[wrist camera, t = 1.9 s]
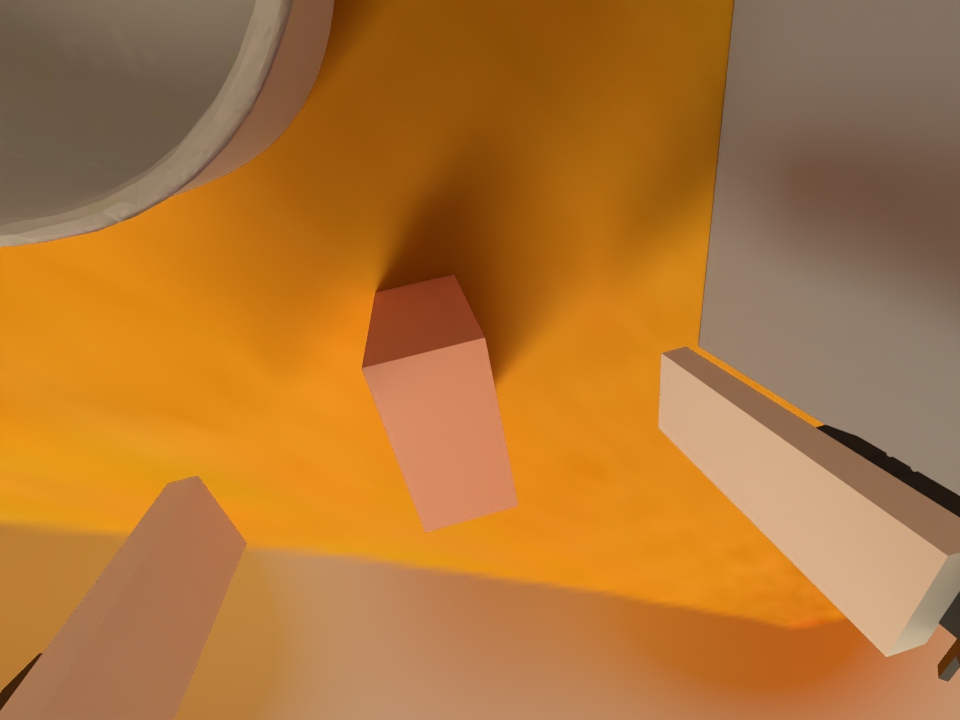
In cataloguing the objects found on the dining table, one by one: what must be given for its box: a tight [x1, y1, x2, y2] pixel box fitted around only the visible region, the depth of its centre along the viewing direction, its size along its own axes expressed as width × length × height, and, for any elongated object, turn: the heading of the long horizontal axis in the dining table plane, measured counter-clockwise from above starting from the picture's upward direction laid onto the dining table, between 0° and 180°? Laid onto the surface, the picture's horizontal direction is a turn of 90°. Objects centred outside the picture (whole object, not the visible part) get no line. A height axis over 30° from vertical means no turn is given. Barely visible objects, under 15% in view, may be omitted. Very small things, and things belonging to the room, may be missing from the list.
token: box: [362, 274, 518, 533], centre depth 13 cm, size 6×3×6 cm, turn 10°
